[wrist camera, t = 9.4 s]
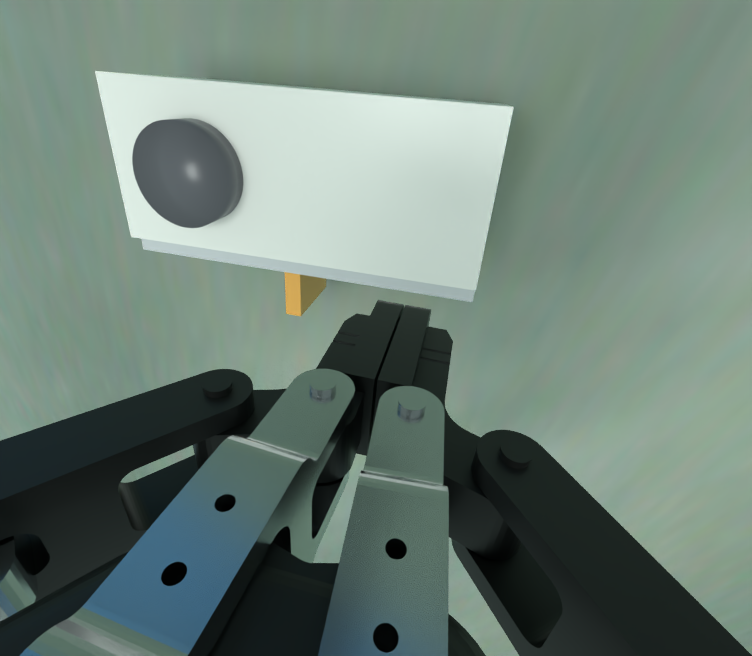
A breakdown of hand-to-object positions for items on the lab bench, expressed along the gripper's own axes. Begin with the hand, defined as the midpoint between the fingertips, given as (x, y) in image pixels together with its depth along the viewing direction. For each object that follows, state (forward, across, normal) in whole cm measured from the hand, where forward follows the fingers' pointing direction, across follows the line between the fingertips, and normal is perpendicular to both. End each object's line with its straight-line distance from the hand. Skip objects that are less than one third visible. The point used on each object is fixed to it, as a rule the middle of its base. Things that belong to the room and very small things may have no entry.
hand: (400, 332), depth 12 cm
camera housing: (+26, +9, 0) cm, 28 cm away
